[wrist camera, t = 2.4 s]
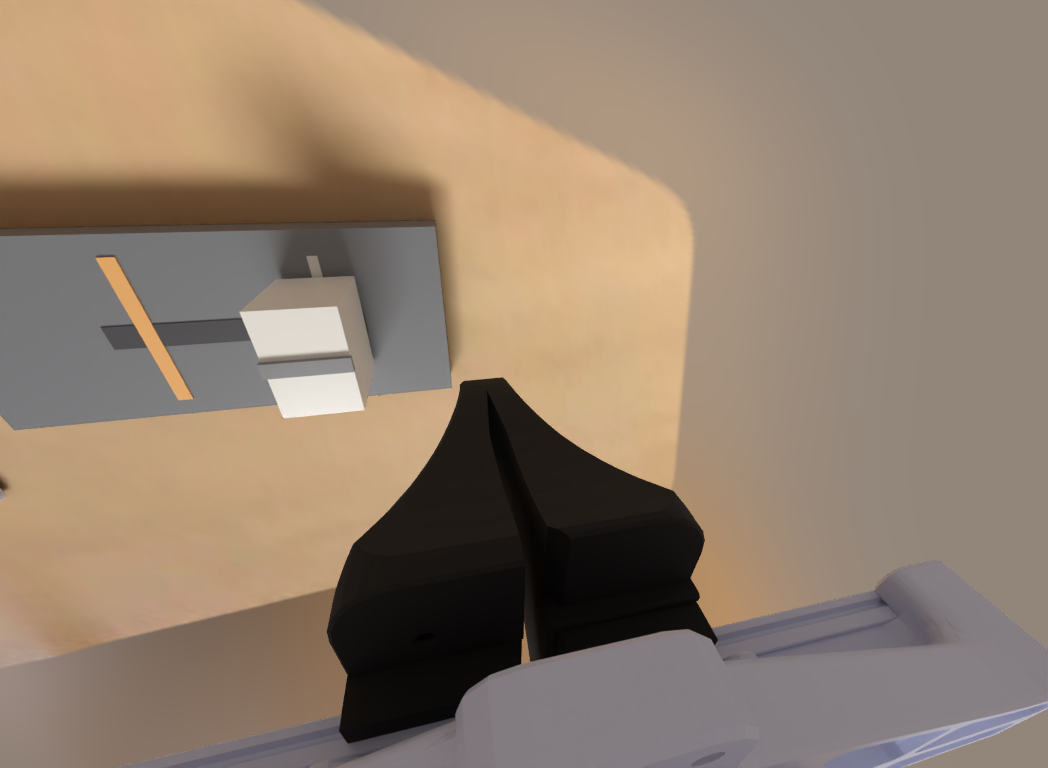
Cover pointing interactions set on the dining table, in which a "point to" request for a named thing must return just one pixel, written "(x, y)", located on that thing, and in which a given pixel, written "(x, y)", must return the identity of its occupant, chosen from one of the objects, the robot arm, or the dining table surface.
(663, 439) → the dining table surface
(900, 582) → the robot arm
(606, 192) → the dining table surface
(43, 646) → the dining table surface
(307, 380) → the block
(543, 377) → the dining table surface
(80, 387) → the console
